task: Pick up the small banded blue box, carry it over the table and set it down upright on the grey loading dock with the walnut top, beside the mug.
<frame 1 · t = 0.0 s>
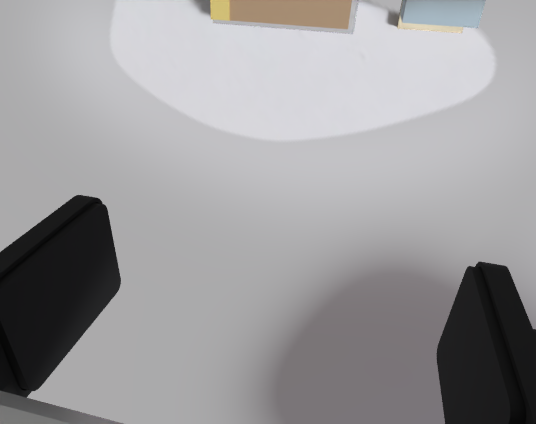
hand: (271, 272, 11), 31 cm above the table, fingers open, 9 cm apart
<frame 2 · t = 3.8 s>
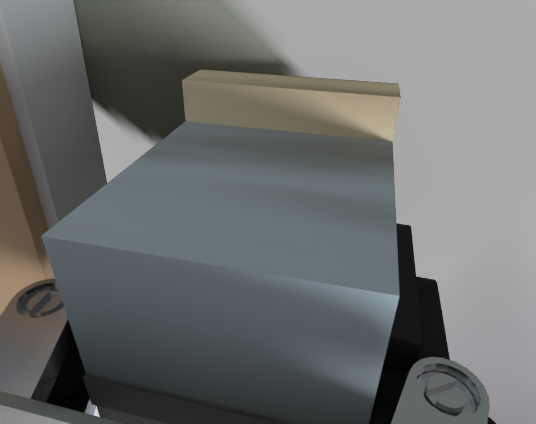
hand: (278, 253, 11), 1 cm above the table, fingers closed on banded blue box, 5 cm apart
banded blue box: (287, 227, 13), on the table, touching gripper
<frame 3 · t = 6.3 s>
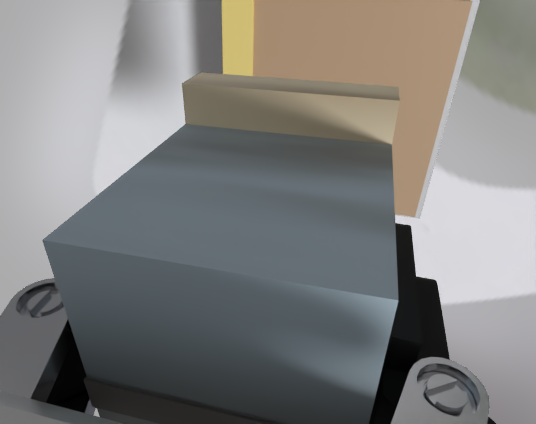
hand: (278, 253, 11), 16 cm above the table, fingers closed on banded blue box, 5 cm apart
banded blue box: (287, 229, 13), point 14 cm above the table, touching gripper
dock: (335, 96, 25), on the table
when the fingers open (6 cm above the table, at t = 8.8 s): banded blue box drops 1 cm, resting on dock.
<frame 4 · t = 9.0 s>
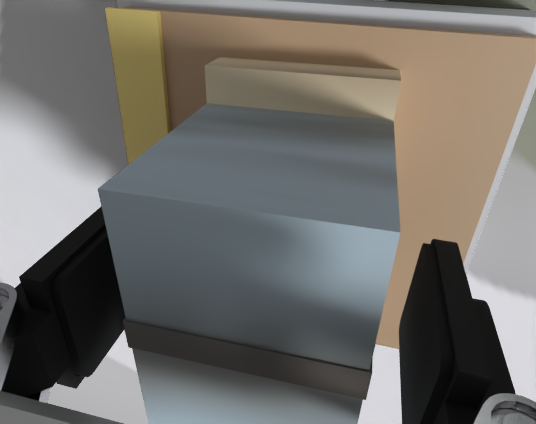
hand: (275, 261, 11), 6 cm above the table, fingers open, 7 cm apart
banded blue box: (296, 204, 14), point 3 cm above the table, touching dock
dock: (309, 168, 16), on the table
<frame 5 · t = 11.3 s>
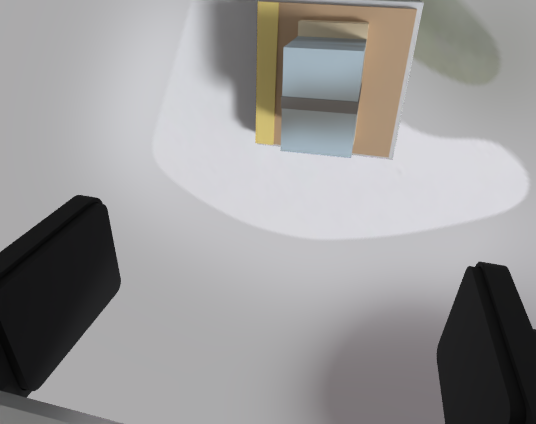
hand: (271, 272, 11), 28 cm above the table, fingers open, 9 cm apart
banded blue box: (329, 83, 33), point 3 cm above the table, touching dock
dock: (332, 75, 35), on the table
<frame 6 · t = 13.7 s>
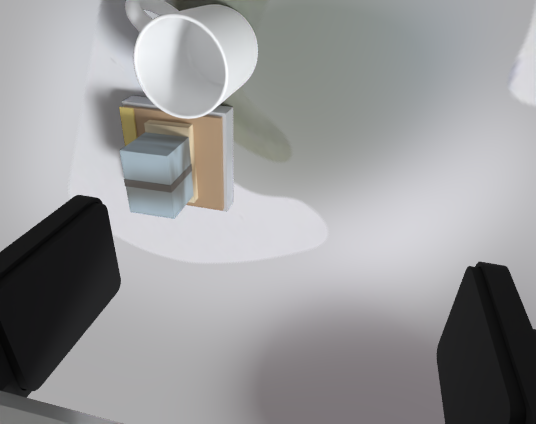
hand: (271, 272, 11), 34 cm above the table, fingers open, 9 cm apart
banded blue box: (174, 160, 47), point 3 cm above the table, touching dock
mug: (207, 35, 42), on the table
dock: (185, 150, 49), on the table
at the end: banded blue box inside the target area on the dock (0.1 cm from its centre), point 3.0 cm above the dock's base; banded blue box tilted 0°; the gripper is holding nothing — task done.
